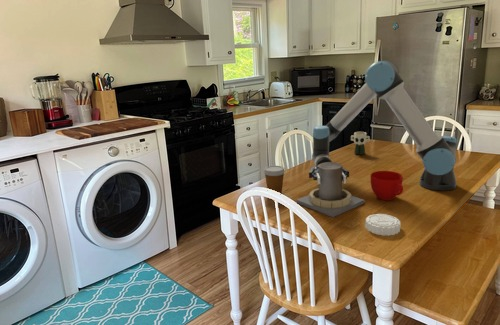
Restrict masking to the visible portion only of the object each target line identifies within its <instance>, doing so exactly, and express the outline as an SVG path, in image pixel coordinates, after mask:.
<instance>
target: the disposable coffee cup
mask: <svg viewBox="0 0 500 325" xmlns="http://www.w3.org/2000/svg"><path fill="white" fill-rule="evenodd" d="M285 172H286V171H285V168H284V167H283V166H281V165H269V166H266V167H264V170H263V174H264V176H265V183H266V188H269V189H272V190H275V191H277V192H280V193H283V184H284V175H285V174H284V173H285Z"/></svg>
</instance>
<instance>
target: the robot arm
mask: <svg viewBox="0 0 500 325" xmlns="http://www.w3.org/2000/svg"><path fill="white" fill-rule="evenodd" d="M364 80H365V83H364V84H363V85H362V87H360V88H359V90H357V92H355V94H354V95H353V96H352V97H351V98H350V99H349V100H348V101H347V102H346V103H345V105H344V106H342V108H341V109H340V110H339V111H338V112H337V113H336V114H335V115H334V116H333V117H332V119H331V120H330V121H328V122H327V124H326V125H316V126H314V127H313V131H312V148H313V149H312V155H311V156H312V158H311V159H312V162H313V163H314V165H315V166H313V165H311V166H310V170H309V171H308V178H309V179H312V178H313V181H317V185H319V184H320V176H319V166H318V165H319V164H321V163H325V162H333V161H332V160H331V158H330V142H331V141H333V140H335V139H336V138H337V137H338V136H339V134H341V132H342V131H343V130H344V129H345V128H346V127H347V126H348V125H349V124H350V123H351V122H352V121H353V120H354V119H355V118H356V117H357V116H358V115H359V114H360V113H361V112H362V111H363V110H364V108H366V106H367V105H369V103H371V101H372V100H374V99H375V97H378V98H379V100H380V99H381V100H384V101H385V102H386V103H387V105H388V106H389V108H390V109H391V111H392V113H394V115H395V117H396V118H397V119H398V121H399V122H400V124H401V125H402V126H403V128H404V129H405V131H406V132H407V133H408V135H409V136H410V138H411V139H412V141H413V142H414V144H415V145H416V150H415V151H416V154H417V155H418V156H419V157H420V159H421V160H422V164H423V165H422V166H423V167H424V170H423V171H422V174H421V176H420V178H419V185H420V186H421V187H423V188H425V189H428V190H433V191H441V192H443V191H445V192H446V190H447V191H452V189H453V190H455V189H456V188H457V179H456V175H455V171H454V167H455V166H456V165H455V164H457V163H456V161H457V160H456V150H457V145H458V142H457V138H456V137H454V136H449V135H439V134H437V133H436V132H435V131H434V129H433V128H432V127H431V125H430V124H429V123H428V121H427V119H426V118H425V117H424V115H423V114H422V113H421V111H420V110H419V108H418V106H417V105H416V104H415V102H414V101H413V99H412V98H411V96H410V95H409V94H408V92H407V91H406V89H405V88H404V87H405V86H404V85H405V80H403V78H402V77H401V75H400V70H399V68H398V65H397V64H396V63H395V62H393V61H391V60H387V59H385V60H384V59H383V60H378V61H376V62H373V63H372V64H371V65H370V66H369V67H368V68H367V70H366V72H365V75H364ZM348 178H350V170H348V169H346V168H345V167H343V166H342V184H346V183H347V179H348Z"/></svg>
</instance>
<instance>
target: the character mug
mask: <svg viewBox="0 0 500 325" xmlns="http://www.w3.org/2000/svg"><path fill="white" fill-rule="evenodd" d="M367 134H368V133H367V132H366V131H365V132H364V131H355V132H354V133H353V135H351V136H350V141H353V142H354V145H355V146H354V154H355V155H365V153H366V148H365V145H366V143H369V142H370V141H371V140H370V138H371V137H370V136H369V135H367Z"/></svg>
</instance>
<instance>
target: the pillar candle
mask: <svg viewBox="0 0 500 325" xmlns="http://www.w3.org/2000/svg"><path fill="white" fill-rule="evenodd" d="M318 166H319V176H320V184H318V188H319V197H320V198H322V199H325V200H338V199H340V198H341V197H342V189H343V181H342V167H343V164H341V163H340V162H333V161H332V162H325V163H321V164H319V165H318Z"/></svg>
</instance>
